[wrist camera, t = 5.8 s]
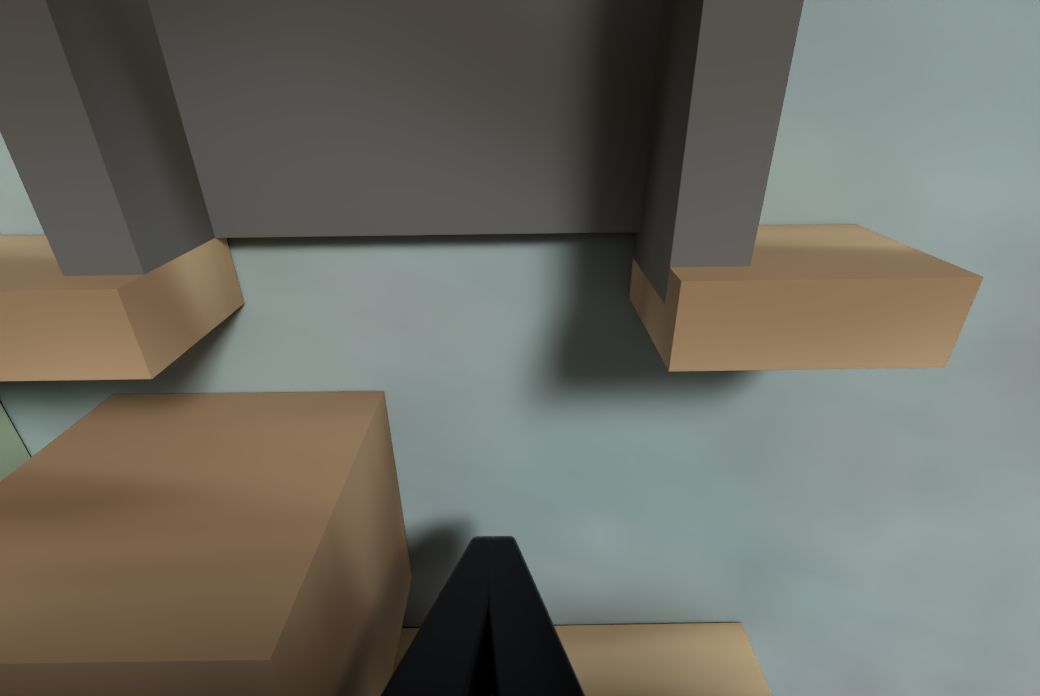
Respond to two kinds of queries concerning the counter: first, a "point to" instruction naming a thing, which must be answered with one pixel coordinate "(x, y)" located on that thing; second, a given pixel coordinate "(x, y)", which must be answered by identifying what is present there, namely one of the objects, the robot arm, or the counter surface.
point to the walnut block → (206, 550)
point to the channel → (437, 196)
